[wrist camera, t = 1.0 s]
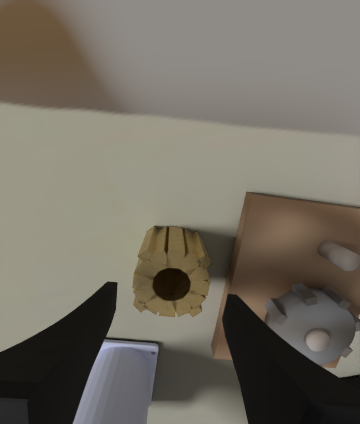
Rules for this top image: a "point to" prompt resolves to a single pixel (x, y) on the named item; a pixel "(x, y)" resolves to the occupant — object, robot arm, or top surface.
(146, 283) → the wooden gear
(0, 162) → the top surface
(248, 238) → the gear board
